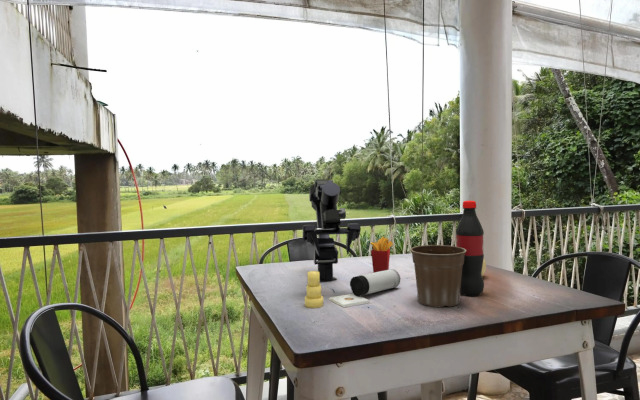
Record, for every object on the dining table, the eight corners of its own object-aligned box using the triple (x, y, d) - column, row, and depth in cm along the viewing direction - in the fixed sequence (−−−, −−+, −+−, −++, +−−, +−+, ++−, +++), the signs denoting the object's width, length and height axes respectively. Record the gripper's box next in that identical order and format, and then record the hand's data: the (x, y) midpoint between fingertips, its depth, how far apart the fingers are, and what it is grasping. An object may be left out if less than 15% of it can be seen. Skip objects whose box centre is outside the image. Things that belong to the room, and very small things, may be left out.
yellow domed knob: (301, 304, 127) (301, 271, 127) (318, 301, 130) (317, 269, 129) (309, 309, 122) (308, 275, 122) (326, 306, 125) (325, 272, 124)
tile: (329, 300, 131) (329, 297, 131) (354, 296, 135) (354, 293, 135) (343, 307, 123) (343, 304, 123) (369, 302, 127) (369, 300, 127)
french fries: (370, 275, 164) (370, 237, 163) (375, 271, 171) (374, 234, 171) (393, 277, 161) (392, 238, 160) (396, 272, 168) (396, 235, 168)
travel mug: (404, 283, 142) (366, 292, 128) (390, 289, 146) (352, 299, 132) (396, 266, 144) (358, 273, 130) (383, 273, 148) (345, 280, 134)
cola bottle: (483, 291, 138) (483, 199, 136) (484, 298, 130) (484, 201, 128) (456, 289, 140) (455, 200, 139) (456, 296, 132) (455, 201, 131)
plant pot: (459, 313, 116) (458, 255, 115) (403, 305, 124) (402, 251, 123) (472, 298, 129) (471, 246, 129) (421, 292, 138) (420, 243, 137)
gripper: (302, 200, 135) (305, 242, 125) (359, 199, 136) (366, 240, 127) (301, 219, 143) (303, 260, 134) (355, 218, 145) (361, 258, 136)
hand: (333, 254), depth 133 cm, fingers open, 9 cm apart
